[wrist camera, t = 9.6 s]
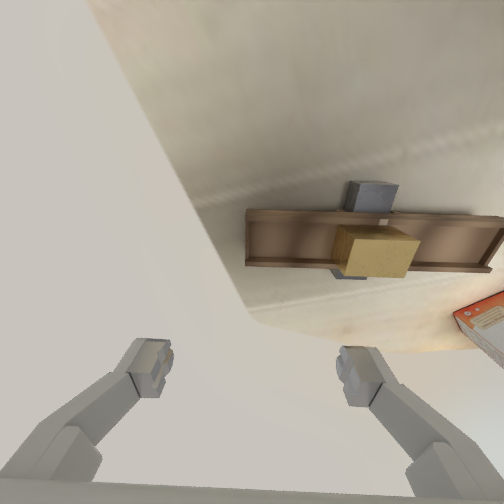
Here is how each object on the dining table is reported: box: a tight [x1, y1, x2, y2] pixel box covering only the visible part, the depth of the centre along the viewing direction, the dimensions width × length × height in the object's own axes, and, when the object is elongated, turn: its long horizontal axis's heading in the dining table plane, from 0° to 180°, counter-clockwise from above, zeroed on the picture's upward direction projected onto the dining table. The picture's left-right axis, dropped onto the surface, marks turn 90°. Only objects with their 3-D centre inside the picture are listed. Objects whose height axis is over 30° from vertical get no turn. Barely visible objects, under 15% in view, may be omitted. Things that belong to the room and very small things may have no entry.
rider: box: [330, 225, 421, 278], centre depth 20 cm, size 6×4×4 cm, turn 88°
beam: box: [245, 209, 504, 273], centre depth 23 cm, size 28×6×4 cm, turn 89°
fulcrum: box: [330, 181, 399, 280], centre depth 24 cm, size 4×12×2 cm, turn 179°
